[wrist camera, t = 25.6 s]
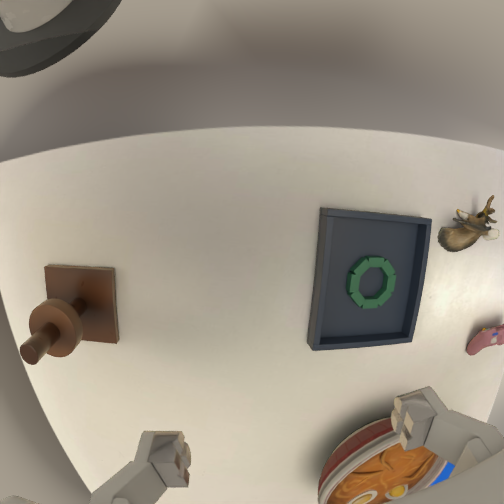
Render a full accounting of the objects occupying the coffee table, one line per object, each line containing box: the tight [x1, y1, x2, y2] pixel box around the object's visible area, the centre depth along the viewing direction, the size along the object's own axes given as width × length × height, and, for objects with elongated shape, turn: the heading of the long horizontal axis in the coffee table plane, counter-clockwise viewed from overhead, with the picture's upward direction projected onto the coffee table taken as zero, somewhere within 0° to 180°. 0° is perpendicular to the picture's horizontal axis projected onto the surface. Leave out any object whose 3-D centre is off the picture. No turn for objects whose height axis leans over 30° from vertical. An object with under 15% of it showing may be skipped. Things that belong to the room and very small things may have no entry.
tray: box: [307, 208, 432, 351], centre depth 37 cm, size 17×15×2 cm
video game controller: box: [467, 324, 504, 355], centre depth 41 cm, size 10×5×7 cm, turn 91°
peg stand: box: [20, 265, 119, 365], centre depth 28 cm, size 9×9×14 cm
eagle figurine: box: [438, 195, 499, 252], centre depth 36 cm, size 8×7×9 cm
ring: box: [346, 255, 396, 309], centre depth 37 cm, size 6×6×1 cm
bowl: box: [318, 417, 448, 504], centre depth 40 cm, size 23×23×10 cm
